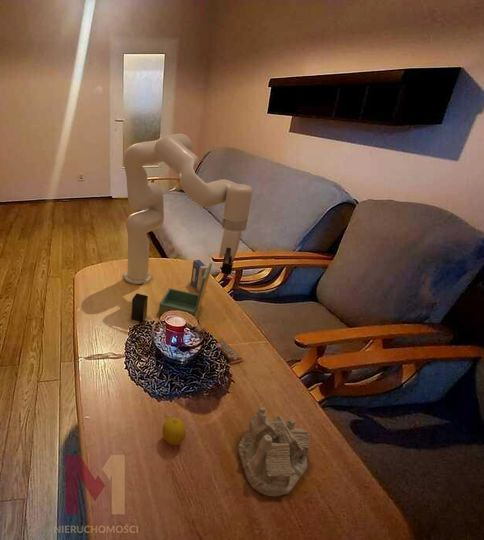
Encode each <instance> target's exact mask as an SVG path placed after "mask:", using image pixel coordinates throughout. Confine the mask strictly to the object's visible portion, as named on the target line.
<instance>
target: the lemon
mask: <svg viewBox="0 0 484 540" xmlns="http://www.w3.org/2000/svg"><path fill="white" fill-rule="evenodd" d="M162 436H163V439H164V440H165V442H166V443H167V444H169V445H172V446H178V445H180V444H182V443H183V441H184V440H185V438H186V426H185V424H184V422H183V420H182V419H180V418H178V417H175V416H171V417H169V418H167V419H166V420H165V421H164V423H163V425H162Z"/></svg>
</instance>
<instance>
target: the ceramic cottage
mask: <svg viewBox="0 0 484 540" xmlns="http://www.w3.org/2000/svg"><path fill="white" fill-rule="evenodd" d="M295 424H296V420H295V419H294V418H290V419H288V421H286V420H285V418H284V417H283V416H282V415H280V414H279V415H276V417H274V418H273V419H270V418H269V417H268V415H267V414H266V408H265V407H264V406H261V407H259V409H258V411H257V412H255V413H254V414H253V415H251V416H250V417H249V427H248V426H247V428H246V429H247V430H245V434H244V435H243V436H242V438H241V440H240V441H239V443H238V446H237V453H238V455H239V456H238V457H239V459H240V462H241V465H242V469H243V471H244V475H245V477H246V480H247V482H248V483H249V485H250V486H251V487H252V488H253V489H254V490H256V491H257V492H258V493H260V494H262V495H263V496H266V497H267V496H268V497H280V496H284V495H288V494H290V493H291V492H292V490H293V489H294V488H295V486H296V484H297V483H298V482H299V480H300V478H301V477H302V476H303V475H304V473H305V472H306V471H307V469H308V457H307V456H306V455H307V454H308V452H309V449H310V448H311V443H310V442H311V439H310V433H309V431H308V430H306V429H303V428H302V427H301V428H299V427H295Z"/></svg>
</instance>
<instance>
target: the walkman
mask: <svg viewBox="0 0 484 540" xmlns="http://www.w3.org/2000/svg"><path fill="white" fill-rule="evenodd" d="M207 268H208V266H207V265H206V264H205V263H203V261H201V260H200V259H195V260H194V259H193V263H192V271H191V279H190V285H192V287H194V288H196V289H197V291H198V292H200V288H201V284H202V280H203V277H204V275H205V272H206V270H207Z"/></svg>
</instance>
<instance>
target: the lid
mask: <svg viewBox="0 0 484 540" xmlns="http://www.w3.org/2000/svg"><path fill="white" fill-rule="evenodd" d="M212 266H213V263H212V262H209V264H208V266H207V267H208V268H207V270H206V272H205V275H204V277H203V280H202V284H201V288H200V291H198V299H197V303H196V307H195V311H197V310H198V308H199V306H200V303H201V301H202V302H203V299H204V296H205V292H206V289H207V285H208V282H209V279H210V274H211V270H212Z"/></svg>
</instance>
